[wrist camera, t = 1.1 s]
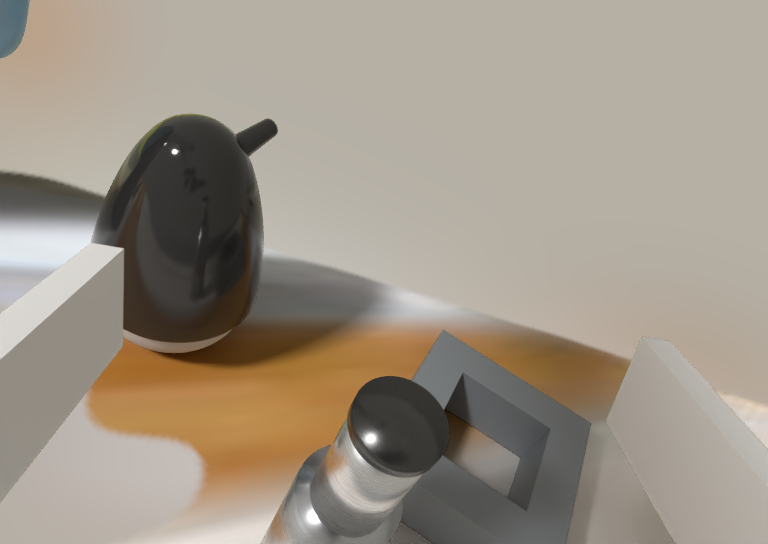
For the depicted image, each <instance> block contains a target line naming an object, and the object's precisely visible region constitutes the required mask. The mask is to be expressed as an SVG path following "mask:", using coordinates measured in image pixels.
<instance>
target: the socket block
mask: <svg viewBox="0 0 768 544" xmlns="http://www.w3.org/2000/svg"><path fill="white" fill-rule="evenodd" d="M411 381H413V382H415V383H417V384H419V385H420V386H422V387H423V388H425V389H426V390H427V391H428V392H430V393H431V394H432V395H433V396H434V397H435V398H436V400H437V401H438V402H439V403H440V405H441V407H442V408H443V410H444V409H447V410H448V411H450V412H451V413H453V414H455V415H456V416H458V417H459V418H461V419H462V420H464V421H465V422H467V423H468V424H470V425H471V426H473V427H474V428H476V429H477V430H479V431H481V432H482V433H484V434H485V435H487V436H488V437H490V438H491V439H493V440H494V441H496V442H497V443H499V444H500V445H502V446H503V447H505V448H507V449H508V450H510V451H511V452H513V453H514V454H516V455H517V456H519V457H520V458H521V459H520V462H519V465H518V468H517V471H516V474H515V477H514V481H513V484H512V487H511V490H510V493H509V496H508V499H507V498H506V497H504V496H503V495H501V494H500V493H498V492H497V491H495V490H494V489H492V488H491V487H489V486H488V485H486V484H485V483H483V482H482V481H480V480H479V479H477V478H476V477H474V476H473V475H471V474H470V473H468V472H467V471H465V470H464V469H462V468H461V467H459V466H458V465H456V464H455V463H453V462H452V461H450V460H449V459H447V458H446V457H444V456H443V455H442V457H441V458H440V459H439V460H438V462H437V463H436V464H435V465H434V466H433V467H432V468H431V469H430V470H429V471H427V472H426V473H424V474H423V475H422V476H421V477H420V478H419V479H418V481H417V482H416V483H415V484H414V485H413V487H412V488H411V489H410V490H409V492H408V493H407V494H406V495H405V496H404V498H403V499H402V503H403V509H402V517H401V521H402V522H403V523H405V524H406V525H408V526H409V527H411V528H412V529H413V530H415V531H416V532H418V533H419V534H421V535H422V536H424V537H425V538H427V539H428V540H429V541H431V542H432V543H434V544H566V540H567V535H568V530H569V526H570V521H571V516H572V511H573V507H574V502H575V497H576V492H577V488H578V483H579V478H580V473H581V469H582V464H583V459H584V454H585V450H586V445H587V440H588V435H589V431H590V426H591V423H590V422H588V421H586V420H585V419H583V418H582V417H580V416H579V415H577V414H575V413H574V412H572V411H571V410H569V409H568V408H566V407H564V406H563V405H561V404H560V403H558V402H556V401H555V400H553V399H552V398H550V397H549V396H547V395H545V394H544V393H542V392H541V391H539V390H538V389H536V388H534V387H533V386H531V385H530V384H528V383H527V382H525V381H523V380H522V379H520V378H519V377H517V376H516V375H514V374H512V373H511V372H509V371H508V370H506V369H504V368H503V367H501V366H500V365H498V364H497V363H495V362H493V361H492V360H490V359H489V358H487V357H486V356H484V355H482V354H481V353H479V352H478V351H476V350H475V349H473V348H471V347H470V346H468V345H467V344H465V343H464V342H462V341H460V340H459V339H457V338H456V337H454V336H452V335H451V334H449V333H448V332H446V331H445V330H443V331H442V332H441V334H440V336H439V337H438V339H437V340H436V342H435V343H434V345H433V346H432V348H431V349H430V351H429V352H428V354H427V355H426V357H425V358H424V360H423V362H422V363H421V365H420V366H419V368H418V370H417V371H416V373H415V375H414V376H413V378H412V380H411Z"/></svg>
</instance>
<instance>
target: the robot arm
mask: <svg viewBox="0 0 768 544" xmlns="http://www.w3.org/2000/svg"><path fill="white" fill-rule="evenodd" d="M29 1H30V0H0V58H4V57H6V56H8V55H10V54H11V53H12V52H14V51H15V50H16V49H17V48H18V46H19V45H20V43H21V40H22V38H23V35H24V31H25V27H26V22H27V15H28V8H29ZM123 291H124V248H119V247H113V246H107V245H101V244H95V243H90V244H89V245H88V246H87V247H85V248H84V249H83V250H81V251H80V252H79V253H78V254H76V255H75V256H74V257H72V258H71V259H70V260H69V261H67V262H66V263H65V264H63V265H62V266H61V267H60V268H58V269H57V270H56V271H54V272H53V273H52V274H51V275H49V276H48V277H47V278H45V279H44V280H43V281H41V282H40V283H39V284H38V285H36V286H35V287H34V288H32V289H31V290H30V291H29V292H27V293H26V294H25V295H23V296H22V297H21V298H20V299H18V300H17V301H16V302H14V303H13V304H12V305H11V306H9V307H8V308H7V309H5V310H4V311H3V312H2V313H0V502H1V501H2V500H3V499H4V497H5V496H6V495H7V493H8V492H9V491H10V490H11V488H12V487H13V486H14V485H15V483H16V482H17V481H18V479H19V478H20V477H21V476H22V474H23V473H24V472H25V471H26V469H27V468H28V467H29V465H30V464H31V463H32V461H33V460H34V459H35V458H36V456H37V455H38V454H39V453H40V451H41V450H42V449H43V448H44V446H45V445H46V444H47V442H48V441H49V440H50V438H51V437H52V436H53V434H54V433H55V432H56V431H57V430H58V428H59V427H60V426H61V424H62V423H63V422H64V421H65V419H66V418H67V417H68V415H69V414H70V413H71V412H72V410H73V409H74V408H75V407H76V405H77V404H78V403H79V402H80V400H81V399H82V398H83V396H84V395H85V394H86V393H87V391H88V390H89V389H90V388H91V386H92V385H93V384H94V382H95V381H96V380H97V379H98V377H99V376H100V375H101V373H102V372H103V371H104V370H105V368H106V367H107V366H108V365H109V363H110V362H111V361H112V359H113V358H114V357H115V356H116V354H117V353H118V352H119V350H120V349H121V348H122V347H123ZM606 423H607V425H608V427H609V428H610V430H611V432H612V434H613V435H614V437H615V439H616V441H617V442H618V444H619V446H620V448H621V450H622V451H623V453H624V455H625V457H626V458H627V460H628V462H629V464H630V465H631V467H632V469H633V471H634V472H635V474H636V476H637V478H638V479H639V481H640V483H641V485H642V487H643V488H644V490H645V492H646V494H647V495H648V497H649V499H650V501H651V502H652V504H653V506H654V508H655V509H656V511H657V513H658V515H659V516H660V518H661V520H662V522H663V524H664V525H665V527H666V529H667V531H668V532H669V534H670V536H671V538H672V539H673V541H674V543H675V544H768V449H767V447H766V446H765V445H764V444H763V443H762V442H761V441H760V440H759V439H758V438H757V436H756V435H755V434H754V433H753V432H752V431H751V430H750V429H749V428H748V427H747V425H746V424H745V423H744V422H743V421H742V420H741V419H740V418H739V417H738V416H737V414H736V413H735V412H734V411H733V410H732V409H731V408H730V407H729V406H728V405H727V403H726V402H725V401H724V400H723V399H722V398H721V397H720V396H719V395H718V394H717V392H716V391H715V390H714V389H713V388H712V387H711V386H710V385H709V384H708V383H707V382H706V380H705V379H704V378H703V377H702V376H701V375H700V374H699V373H698V372H697V371H696V370H695V368H694V367H692V365H691V364H690V363H689V362H688V361H687V360H686V359H685V357H684V356H683V355H682V354H681V353H680V352H679V351H678V350H677V349H676V347H675V346H674V345H673V344H672V343H671V342H670V341H666V340H661V339H655V338H649V337H643V336H642V337H641V340H640V342H639V344H638V347H637V349H636V351H635V354H634V356H633V358H632V361H631V363H630V365H629V368H628V370H627V372H626V375H625V377H624V380H623V382H622V384H621V387H620V389H619V391H618V394H617V396H616V398H615V401H614V403H613V405H612V408H611V410H610V412H609V415H608V417H607V419H606Z"/></svg>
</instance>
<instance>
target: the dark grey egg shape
mask: <svg viewBox="0 0 768 544" xmlns="http://www.w3.org/2000/svg"><path fill="white" fill-rule="evenodd" d="M277 132H278V129H277V126H276V124H275V122H274V121H272V120H271V119H265V120H263V121H261V122H259V123H257V124H255V125H253V126H251V127H249V128H247V129H245V130H243V131H241V132H239V133H237V134H234V133H233V132H232V131H231V130H230V129H229V128H228V127H227V126H225V125H224V124H223V123H221V122H219V121H217V120H215V119H213V118H211V117H207V116H204V115H199V114H181V115H176V116H173V117H170V118H167V119H165V120H163V121H162V122H160V123H159V124H157V125H156V126H154V127H153V128H152V129H151V130H150V131H149V132H148V133H147V134H146V135H144V136H143V137H142V139H141V140H140V141H139V142H138V143H137V144H136V146H135V147H134V148H133V149H132V151H131V152H130V154H129V155H128V157H127V158H126V160H125V161H124V163H123V165H122V166H121V168H120V170H119V172H118V174H117V176H116V177H115V179H114V181H113V183H112V185H111V187H110V189H109V191H108V193H107V195H106V198H105V200H104V202H103V205H102V207H101V210H100V212H99V215H98V218H97V221H96V225H95V228H94V232H93V236H92V240H91V243H95V244H101V245H107V246H113V247H119V248H124V291H123V337H124V338H125V339H127V340H128V341H130V342H132V343H134V344H136V345H138V346H140V347H143V348H146V349H149V350H153V351H157V352H164V353H184V352H190V351H195V350H199V349H202V348H204V347H207V346H209V345H211V344H213V343H215V342H217V341H219V340H220V339H222V338H223V337H224V336H226V335H227V334H228V333H229V332H230V331H231V330H232V329H233V328H234V327H236V326H237V325H238V324H240V323H241V322H242V321H243V320H244V319H245V318H246V317H247V315H248V314H249V313H250V311H251V309H252V308H253V305H254V303H255V300H256V297H257V294H258V290H259V286H260V280H261V272H262V262H263V246H264V244H263V243H264V242H263V241H264V236H263V217H262V208H261V201H260V195H259V190H258V185H257V181H256V178H255V173H254V170H253V167H252V164H251V161H250V159H249V156H250V155H251V154H252V153H254V152H255V151H256V150H257V149H259V148H260V147H261V146H263V145H264V144H265V143H266V142H267V141H269V140H270V139H272V138H273V137H274V136H275V135H276V134H277Z"/></svg>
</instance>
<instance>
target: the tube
mask: <svg viewBox="0 0 768 544" xmlns="http://www.w3.org/2000/svg"><path fill="white" fill-rule="evenodd" d="M449 439H450V429H449V423H448V419H447V416H446V414H445V412H444V410H443V408H442V407H441V405H440V403H439V402H438V401H437V400H436V398H435V397H434V396H433V395H432V394H431V393H430V392H428V391H427V390H426V389H425V388H423V387H422V386H420V385H419V384H417V383H415V382H413V381H411V380H408V379H405V378H401V377H395V376H385V377H379V378H375V379H373V380H371V381H369V382H368V383H366V384H365V385H364V386H363V387H362V388H361V389H360V390H359V392H358V393H357V395H356V397H355V399H354V400H353V402H352V404H351V406H350V408H349V411H348V416H347V419H346V420H345V422H344V424H343V426H342V427H341V429H340V431H339V433H338V434H337V436H336V438H335V440H334V441H333V443H332V445H329V446H326V447H323V448H321V449H319V450H317V451H316V452H314V453H313V454H312V455H311V456H310V457H308V458H307V460H306V461H305V462H304V463H303V465H302V467H301V468H300V470H299V472H298V474H297V476H296V478H295V479H294V481H293V483H292V485H291V487H290V489H289V491H288V493H287V495H286V496H285V498H284V500H283V502H282V504H281V506H280V508H279V510H278V511H277V513H276V515H275V517H274V519H273V521H272V523H271V525H270V527H269V528H268V530H267V532H266V534H265V536H264V538H263V540H262V542H261V544H387V543H388V541H389V540H390V539H391V538H392V537H393V535H394V534H395V532H396V530H397V529H398V526H399V524H400V521H401V517H402V509H403V503H402V499H403V498H404V496H405V495H406V494H407V493H408V492H409V490H410V489H411V488H412V487H413V485H414V484H415V483H416V482H417V481H418V479H419V478H420V477H421V476H422V475H423V474H424V473H426V472H427V471H429V470H430V469H431V468H432V467H433V466H434V465H435V464H436V463H437V462H438V460H439V459H440V458H441V457H442V455H443V454H444V453H445V451H446V449H447V447H448V444H449Z"/></svg>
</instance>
